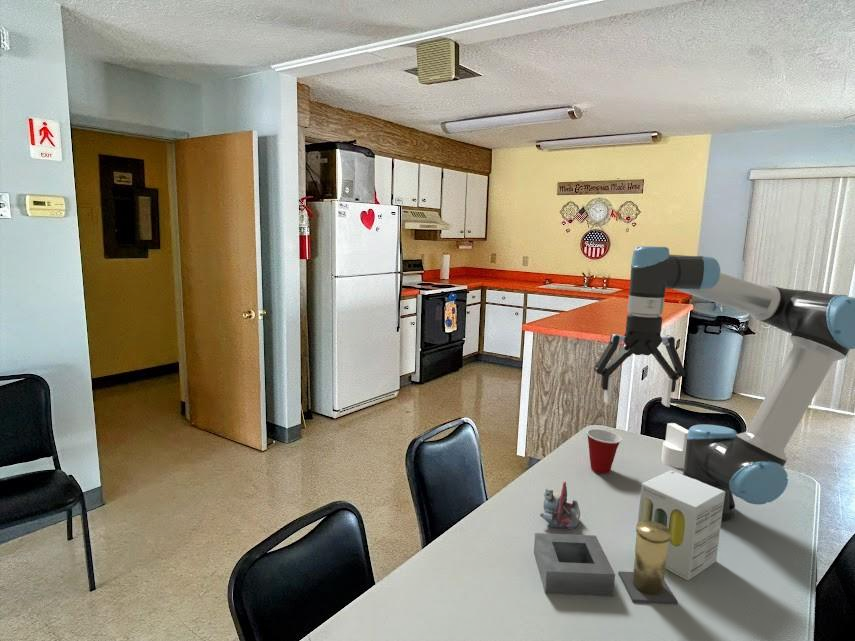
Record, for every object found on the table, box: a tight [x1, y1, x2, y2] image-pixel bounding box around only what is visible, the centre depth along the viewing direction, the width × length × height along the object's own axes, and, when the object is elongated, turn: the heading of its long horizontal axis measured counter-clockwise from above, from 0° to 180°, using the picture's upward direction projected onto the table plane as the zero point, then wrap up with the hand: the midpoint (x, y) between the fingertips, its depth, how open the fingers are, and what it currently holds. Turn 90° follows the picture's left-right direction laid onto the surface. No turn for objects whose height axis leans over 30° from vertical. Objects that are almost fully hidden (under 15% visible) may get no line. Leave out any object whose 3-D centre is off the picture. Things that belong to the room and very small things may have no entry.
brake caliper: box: [539, 480, 581, 530], centre depth 137 cm, size 11×11×12 cm
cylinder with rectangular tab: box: [661, 422, 689, 470], centre depth 174 cm, size 9×9×12 cm
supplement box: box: [634, 469, 725, 581], centre depth 121 cm, size 13×13×18 cm
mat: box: [618, 570, 679, 605], centre depth 111 cm, size 9×9×1 cm
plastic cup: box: [586, 428, 623, 475], centre depth 166 cm, size 11×11×12 cm
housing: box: [533, 532, 616, 597], centre depth 115 cm, size 14×14×5 cm
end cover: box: [632, 521, 671, 595], centre depth 110 cm, size 7×7×13 cm
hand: (636, 404), depth 123 cm, fingers open, 13 cm apart
